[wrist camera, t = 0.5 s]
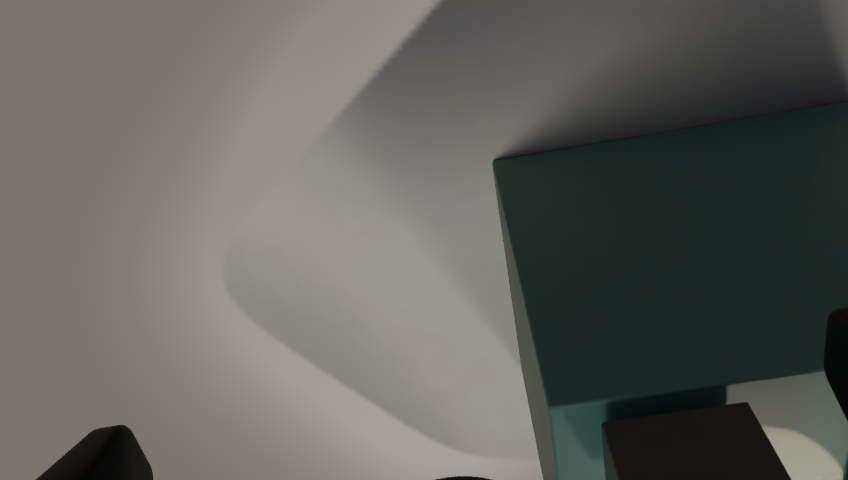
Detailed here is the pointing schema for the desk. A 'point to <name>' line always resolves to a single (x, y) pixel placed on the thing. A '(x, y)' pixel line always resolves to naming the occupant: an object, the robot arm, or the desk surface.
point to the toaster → (682, 282)
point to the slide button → (691, 446)
